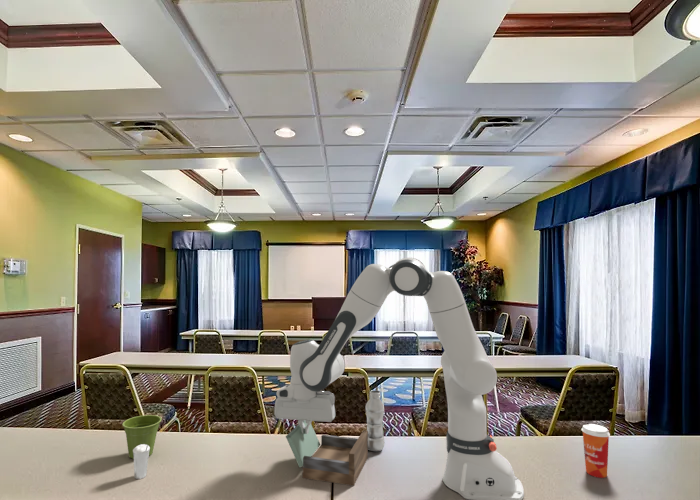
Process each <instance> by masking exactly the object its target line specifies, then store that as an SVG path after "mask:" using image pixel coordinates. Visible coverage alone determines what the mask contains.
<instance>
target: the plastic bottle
mask: <svg viewBox="0 0 700 500" xmlns="http://www.w3.org/2000/svg"><path fill="white" fill-rule="evenodd" d="M381 397H382V396H381V391H380V390H377V389H376V390H375V389H374V390H370V391H369V400H368V401H367V402H366V403H365V414H366V431H368V450H369V451H371V452H380V451H382V450H383V449H384V447H385V444H386V443H385V437H384V429H383V428H384V427H383V421H384V411H385V406H384V404H383V401H382V400H381Z"/></svg>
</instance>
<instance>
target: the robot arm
mask: <svg viewBox="0 0 700 500" xmlns="http://www.w3.org/2000/svg"><path fill="white" fill-rule="evenodd" d="M392 292H396V293H397V294H400V295H402V296H406V297H423V298H424V300H425V301H426V305H427V308H428V311H429V315H430V318H431V321H432V325H433V327H434V330H435V333H436V337H437V338H438V340H439V342H440V344H441V347H442V348H443V350H444V351H443V352H442V355H441V358H440V365H441V367H442V372H443V381H444V387H445V394H446V401H447V423H448V424H447V426H448V427H447V429H448V430H447V431H446V435H445V438H446V440H445V441H446V442H445V444H446V445H445V446H446V447H445V448H446V452H447V455H446V463H445V469H444V473H443V476H442V481H443V483H444V485H445V486H447V487H448V489H451V490H453V491H454V492H455V493H458V494H459V495H460V496H462V498H464V499H465V500H523V499H524V497H525V490H524V486H523V483H522V482H521V480H520V479H519V477H517V476H515V472H514V468H513V467H512V464H511V463H510V461H509V460H508V459H507V458H506V457H504V456H503V455H502V454H501V453H499V452H498V451H497V450H498V449H497V444H496V443H495V442H494V441H495V439H493V436H492V435H491V434H490V435H488V434H487V408H486V404H485V401H484V398H483V395H486V394H488V393H490V392H492V391H493V390H494V388H495V387H496V385H497V381H498V373H497V370H496V369H495V367H494V365H493V364H492V362H491V360H490V359H489V357H488V355H487V352H486V350H485V348H484V346H483V344H482V342H481V340H480V338H479V336H478V334H477V332H476V329H475V328H474V324H473V322H472V319H471V315H470V313H469V310H468V306H467V304H466V300H465V298H464V297H465V296H464V295H463V292H462V290H461V287H460V285H459V283H458V282H457V280H456V277H455V276H454V274H453V273H451V272H449V271H448V270H447V271H446V270H438V271H433V272H432V271H429V270H428V269H427V268H426V266H425V265H424V263H423V262H421V261H420V259H417V258H414V257H404V258H400V259H399V260H398V261H396V262H395V263H393V264H392V265H390V266H389V267H386V266H383V265H382V264H378V263H371V264H369V265H367V266H366V267H365V268H364V269H363V270H362V271H361V273H360V274H359V276H357V278H356V280H355V281H354V282H353V285H352V286H351V288H350V290H349V292H348V293H347V296H346V297H345V299H344V301H343V304H342V305H341V308H340V310H339V312H338V313H337V316H336V317H335V319H334V320H333V323H332V324H331V326H330V327H329V329H328V331H327V332H326V334H325V335H324V337H323V338H322V340H321V342H320V343H319V344H318V343H317V341H315V340H314V339H305V340H300V341H297V342H295V343H293V344H292V346H291V348H290V356H289V368H290V369H289V370H290V372H291V374H290V375H291V378H290V383H289V384H286V385H284V386H282V387H280V388H279V389H278V390H277V391H276V396H277V398H276V399H275V402H274V417H275V418H276V419H279V420H280V419H281V420H295V421H296V420H297V425H298V424H299V425H300V427H301V428H302V434H308V433H309V426H310V424H311V425H312V422H328V423H332V421H333V420H335V417H336V408H335V402H336V401H335V400H336V397H335V394H334V393H332V392H331V391H329V390H326V391H325V388H327V387H328V386H329V385H330V384H332V383H333V382H335V381H336V380H337V379H339V378H340V377H341V376H342V375H344V374H343V373H344V372H345V370H346V362H345V359H344V356H343V355H342V354H341V351H342V350H343V348H344V346H345V345H346V343H347V342H348V340H349V339H350V338H351V337H352V336H353V335H354V334H356V333H357V332H358V331H360V330H361V329H363V328H364V327H366V326H368V325H369V324H370V323H371V322H372V321H373V320H374V318H375V317H376V316H377V314H378V313H379V312H380V309H382V306H383V304H384V302H385V301H386V299H387V298H388V296H389V295H390V294H391V293H392ZM304 420H306V424H307V426H306V427H305V425H304V423H303V422H304Z"/></svg>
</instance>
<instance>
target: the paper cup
mask: <svg viewBox="0 0 700 500" xmlns="http://www.w3.org/2000/svg"><path fill="white" fill-rule="evenodd" d="M581 431H582V441H583V452H584V454H583V455H584V462H585V465H584V466H585V472H586V473H587V474H588V475H589V476H592V477H594V478H598V479H604V478H607V477H608V466H609V465H608V464H609V463H608V461H609V460H608V459H609V440H610V439H609V438H610V436H611V433H610V432H609V429H608V428H607V427H605V426H602V425H599V424H594V423H588V424H583V425H582V428H581Z"/></svg>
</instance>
